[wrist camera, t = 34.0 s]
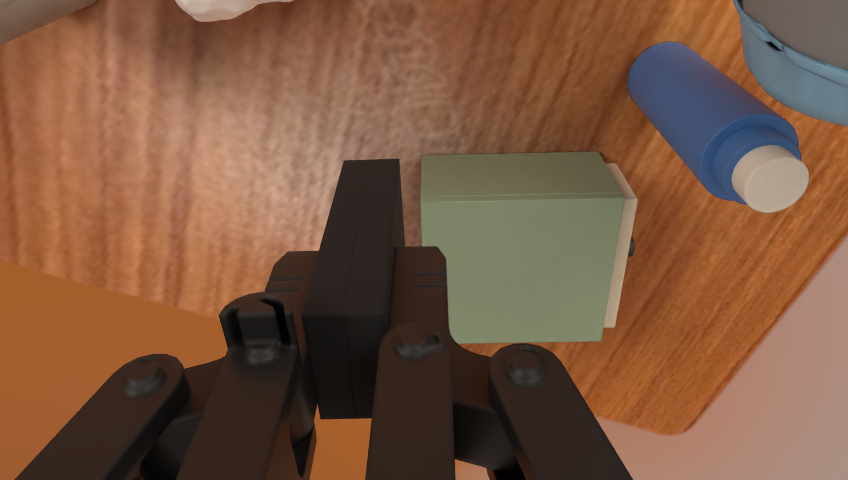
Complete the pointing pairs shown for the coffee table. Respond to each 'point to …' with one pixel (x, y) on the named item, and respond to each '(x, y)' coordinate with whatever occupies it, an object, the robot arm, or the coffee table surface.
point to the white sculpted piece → (219, 8)
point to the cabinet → (523, 243)
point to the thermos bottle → (33, 14)
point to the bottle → (719, 128)
